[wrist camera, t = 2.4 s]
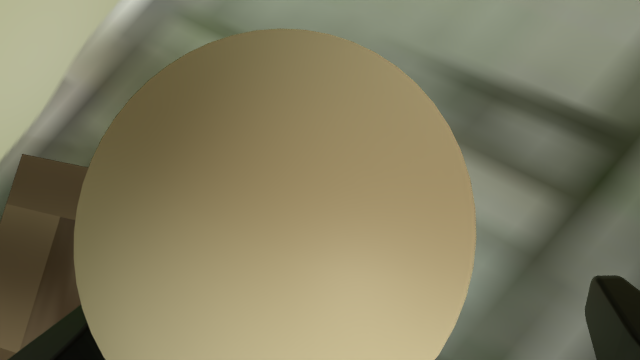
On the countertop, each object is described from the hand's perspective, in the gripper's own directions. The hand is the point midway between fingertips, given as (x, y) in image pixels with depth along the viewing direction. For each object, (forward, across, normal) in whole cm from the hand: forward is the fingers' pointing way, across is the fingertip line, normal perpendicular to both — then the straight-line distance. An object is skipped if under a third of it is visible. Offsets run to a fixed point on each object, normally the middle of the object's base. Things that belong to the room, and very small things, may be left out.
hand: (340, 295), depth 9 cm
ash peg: (+7, 0, +6) cm, 9 cm away
